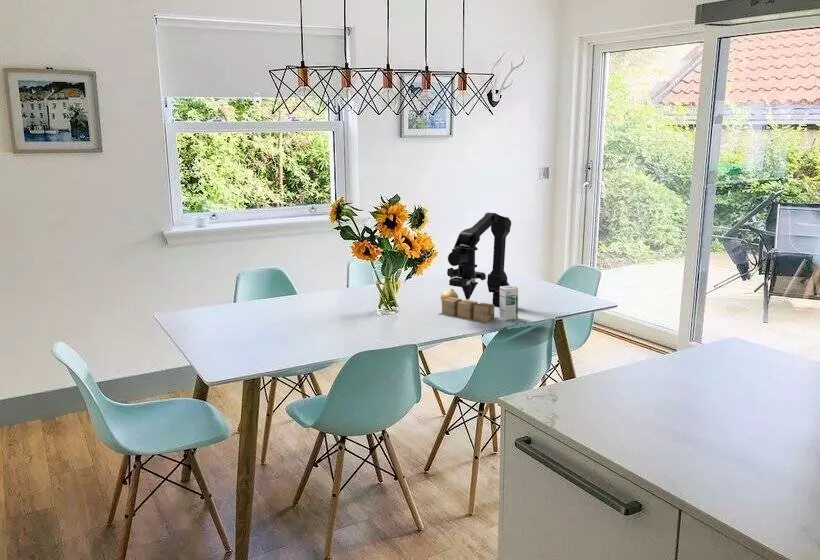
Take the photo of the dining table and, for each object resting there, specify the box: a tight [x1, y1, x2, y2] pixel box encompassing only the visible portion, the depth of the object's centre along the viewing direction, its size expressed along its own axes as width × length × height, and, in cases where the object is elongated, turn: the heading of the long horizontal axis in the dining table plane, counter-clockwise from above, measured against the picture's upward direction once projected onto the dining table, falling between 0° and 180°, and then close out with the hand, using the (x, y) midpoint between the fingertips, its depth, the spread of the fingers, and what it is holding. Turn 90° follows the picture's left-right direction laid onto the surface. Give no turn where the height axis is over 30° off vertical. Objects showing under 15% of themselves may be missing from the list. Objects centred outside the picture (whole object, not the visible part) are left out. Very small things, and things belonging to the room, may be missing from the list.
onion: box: [440, 288, 459, 302], centre depth 310 cm, size 8×8×7 cm
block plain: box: [458, 299, 479, 319], centre depth 286 cm, size 6×6×6 cm
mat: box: [437, 312, 500, 325], centre depth 287 cm, size 10×24×1 cm, turn 51°
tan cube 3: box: [441, 297, 463, 316], centre depth 291 cm, size 6×6×6 cm
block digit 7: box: [474, 302, 495, 322], centre depth 281 cm, size 6×6×6 cm
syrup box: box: [499, 285, 519, 322], centre depth 280 cm, size 6×6×14 cm
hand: (467, 299), depth 285 cm, fingers closed
